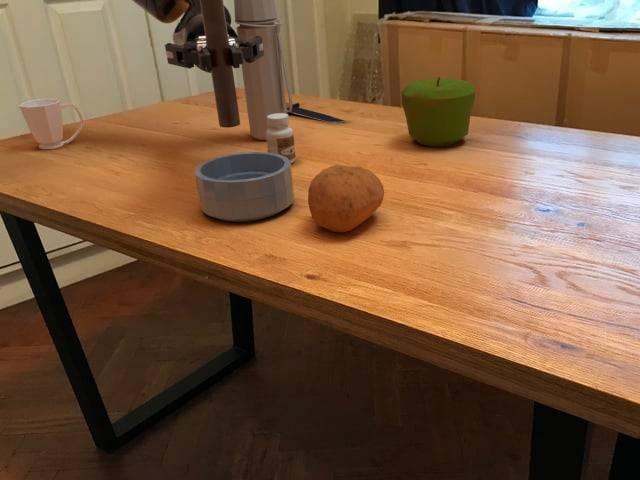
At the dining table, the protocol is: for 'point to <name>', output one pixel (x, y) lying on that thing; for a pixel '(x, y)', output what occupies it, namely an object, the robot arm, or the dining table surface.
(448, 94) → the apple
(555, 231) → the dining table surface
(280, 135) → the pill bottle
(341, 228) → the potato
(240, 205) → the bowl
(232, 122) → the stick
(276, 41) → the water bottle
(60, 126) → the cup
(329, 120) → the knife
